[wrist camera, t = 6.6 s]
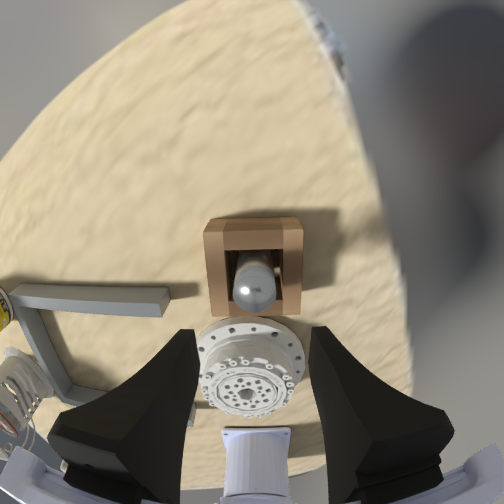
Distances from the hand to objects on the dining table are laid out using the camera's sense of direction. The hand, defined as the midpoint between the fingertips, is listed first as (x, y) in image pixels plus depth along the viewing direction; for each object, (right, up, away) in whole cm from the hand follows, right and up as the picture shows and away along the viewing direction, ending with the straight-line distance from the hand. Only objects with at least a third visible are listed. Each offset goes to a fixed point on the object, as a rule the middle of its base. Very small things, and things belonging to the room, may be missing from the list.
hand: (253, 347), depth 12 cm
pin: (0, +4, +9) cm, 10 cm away
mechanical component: (0, -5, +13) cm, 14 cm away
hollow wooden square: (0, +4, +9) cm, 10 cm away
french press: (-32, -14, +17) cm, 39 cm away
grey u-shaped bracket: (-15, -6, +13) cm, 21 cm away
